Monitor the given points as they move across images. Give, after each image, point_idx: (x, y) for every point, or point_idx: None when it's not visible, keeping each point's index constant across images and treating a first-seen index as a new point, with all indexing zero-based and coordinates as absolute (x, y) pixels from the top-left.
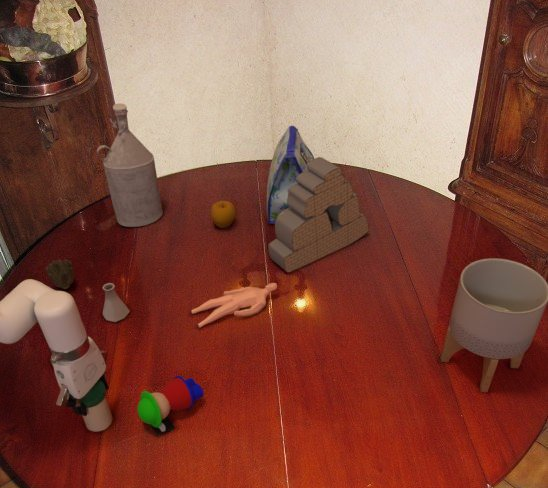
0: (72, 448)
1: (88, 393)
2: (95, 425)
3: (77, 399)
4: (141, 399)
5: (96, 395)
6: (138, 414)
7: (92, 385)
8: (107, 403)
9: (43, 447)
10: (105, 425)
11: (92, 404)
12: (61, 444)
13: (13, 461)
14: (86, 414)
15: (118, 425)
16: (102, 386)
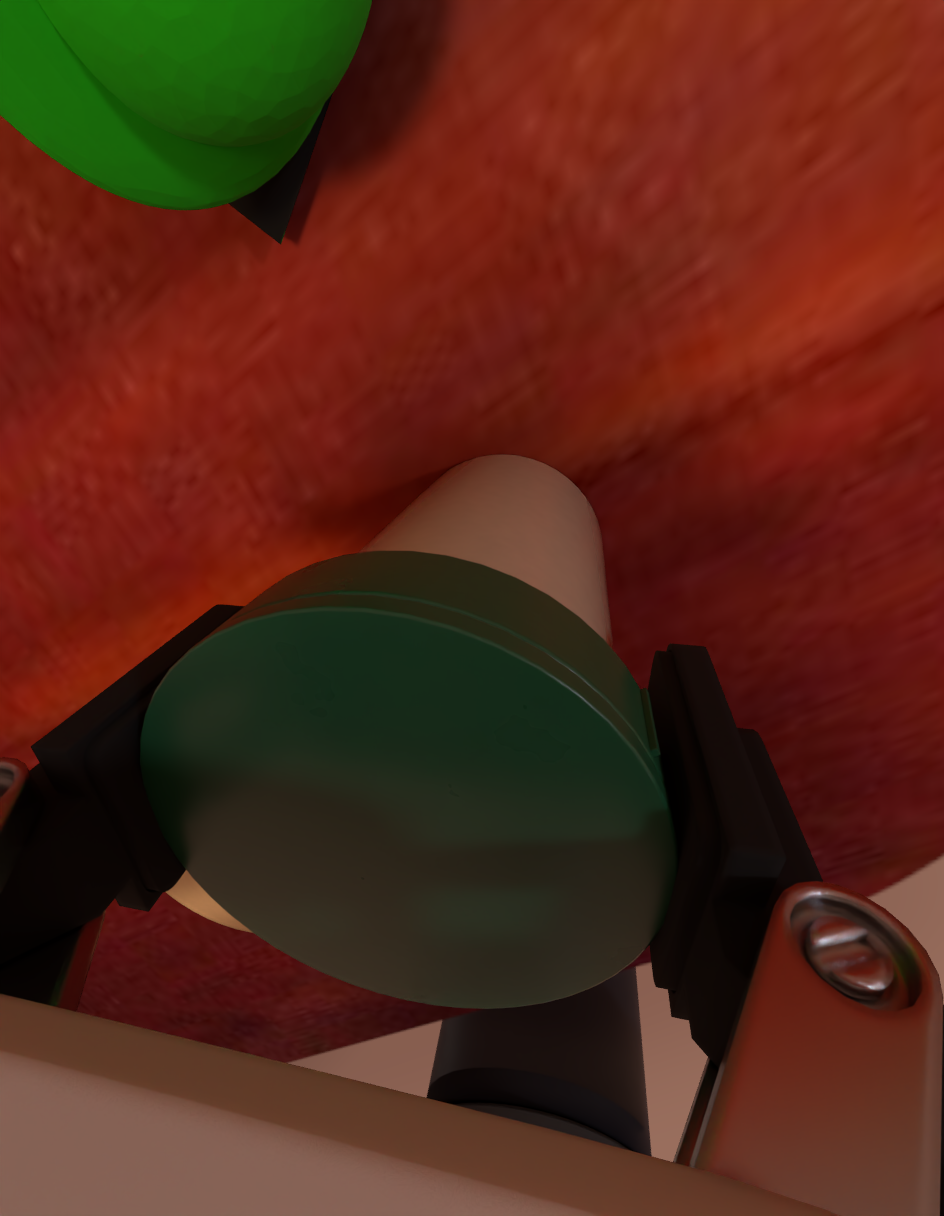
0: (780, 600)
1: (440, 826)
2: (594, 534)
3: (909, 1178)
4: (127, 138)
5: (413, 695)
6: (329, 10)
7: (212, 1200)
8: (387, 527)
9: (801, 763)
10: (540, 470)
11: (591, 661)
12: (758, 681)
13: (930, 858)
14: (688, 651)
15: (485, 383)
16: (204, 691)
